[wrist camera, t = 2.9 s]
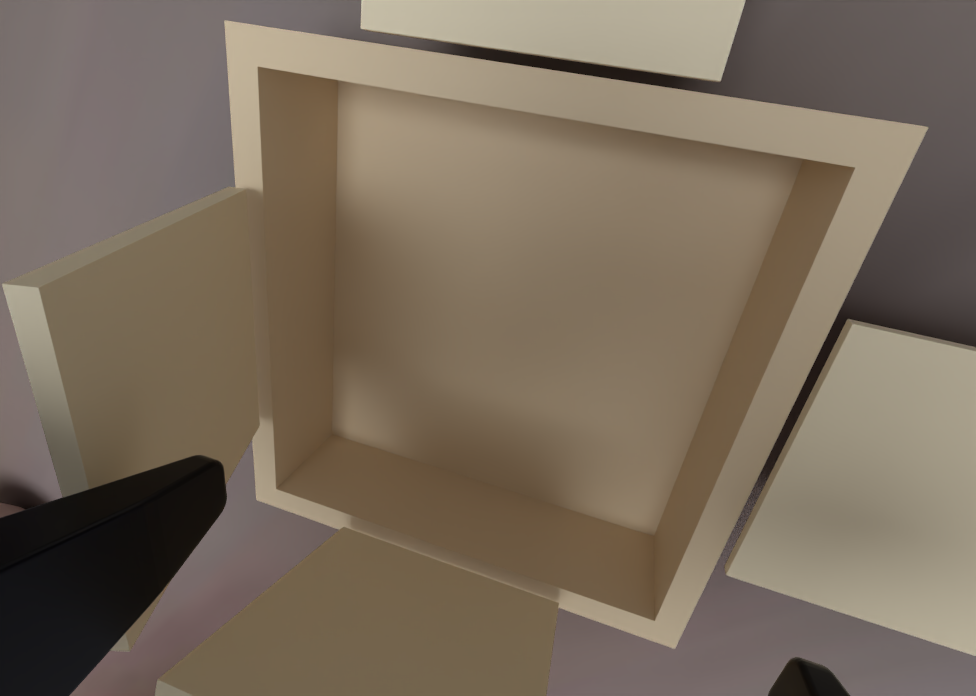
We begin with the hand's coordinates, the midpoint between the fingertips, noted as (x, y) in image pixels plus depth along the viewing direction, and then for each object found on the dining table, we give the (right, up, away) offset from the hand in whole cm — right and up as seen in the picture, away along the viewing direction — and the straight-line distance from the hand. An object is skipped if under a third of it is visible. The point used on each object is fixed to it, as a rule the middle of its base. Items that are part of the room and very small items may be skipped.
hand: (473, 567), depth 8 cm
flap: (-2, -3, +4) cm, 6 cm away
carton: (+5, +6, +6) cm, 10 cm away
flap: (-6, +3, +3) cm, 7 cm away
